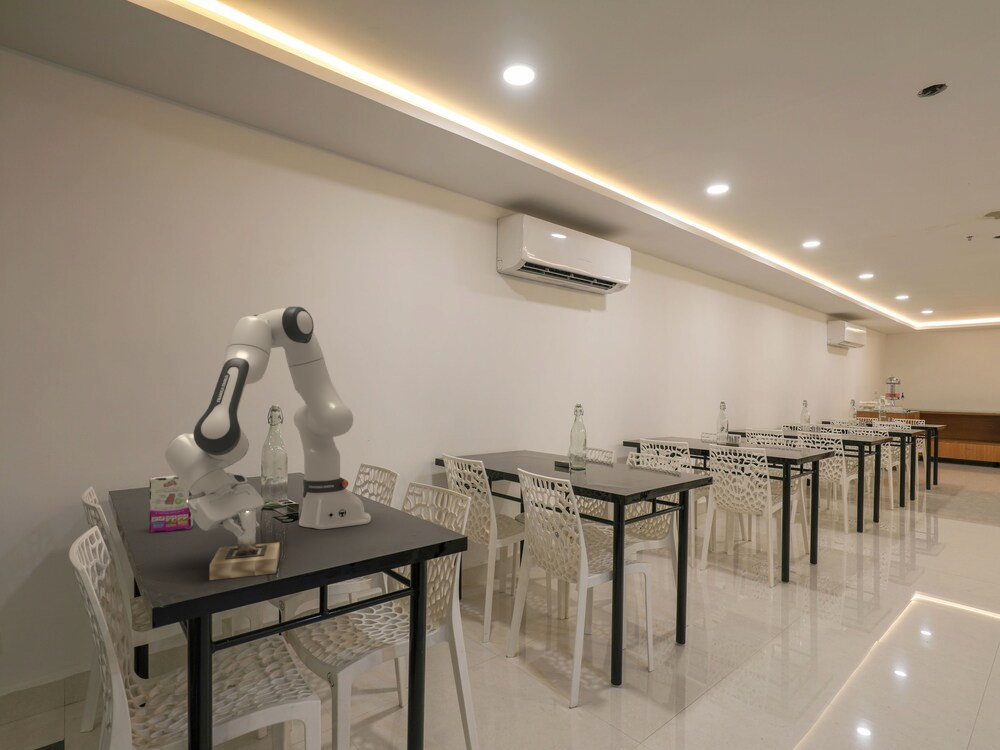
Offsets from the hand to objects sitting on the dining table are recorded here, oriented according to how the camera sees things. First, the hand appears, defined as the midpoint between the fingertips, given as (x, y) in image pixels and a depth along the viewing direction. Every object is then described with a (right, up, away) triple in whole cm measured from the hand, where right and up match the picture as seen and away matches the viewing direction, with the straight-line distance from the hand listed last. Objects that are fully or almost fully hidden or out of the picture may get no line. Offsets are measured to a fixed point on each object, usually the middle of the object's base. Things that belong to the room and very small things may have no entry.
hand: (249, 531), depth 134 cm
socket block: (-1, -9, 0) cm, 9 cm away
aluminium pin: (-1, -7, 0) cm, 7 cm away
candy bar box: (-40, -10, +35) cm, 54 cm away
